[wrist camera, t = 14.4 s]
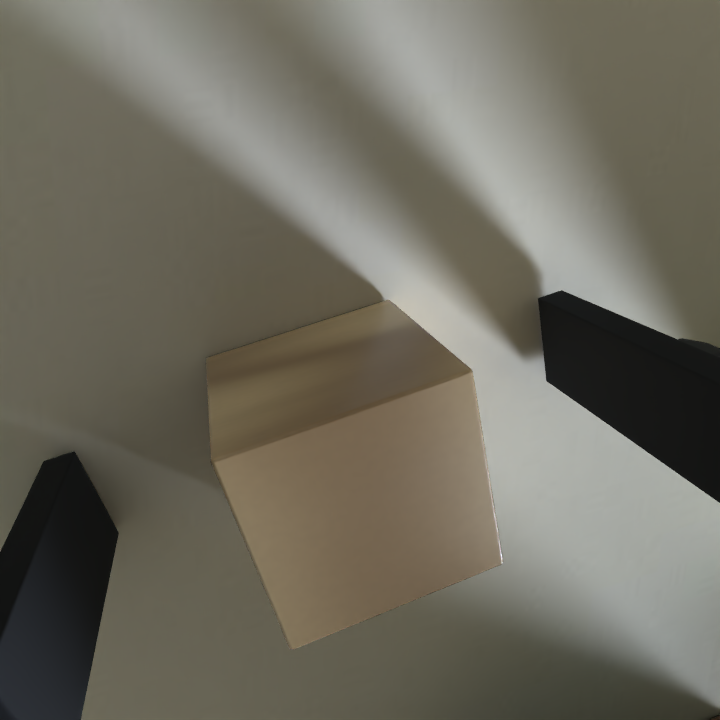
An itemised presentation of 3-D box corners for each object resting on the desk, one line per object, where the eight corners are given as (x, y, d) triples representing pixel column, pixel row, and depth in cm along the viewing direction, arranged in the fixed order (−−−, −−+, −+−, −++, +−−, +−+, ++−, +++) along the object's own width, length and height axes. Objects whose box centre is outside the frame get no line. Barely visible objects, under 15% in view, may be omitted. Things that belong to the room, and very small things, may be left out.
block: (263, 509, 16) (290, 653, 12) (204, 357, 14) (209, 460, 10) (423, 451, 17) (505, 564, 12) (389, 298, 15) (473, 368, 10)
